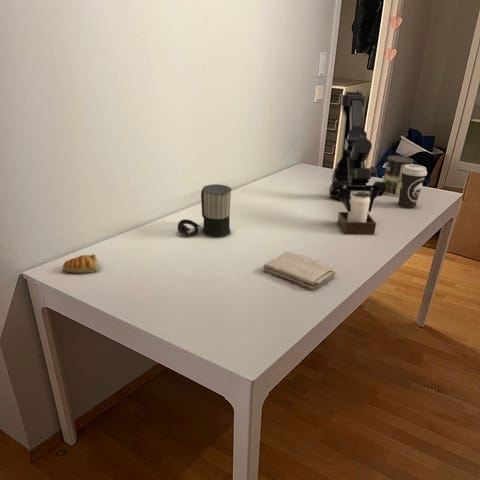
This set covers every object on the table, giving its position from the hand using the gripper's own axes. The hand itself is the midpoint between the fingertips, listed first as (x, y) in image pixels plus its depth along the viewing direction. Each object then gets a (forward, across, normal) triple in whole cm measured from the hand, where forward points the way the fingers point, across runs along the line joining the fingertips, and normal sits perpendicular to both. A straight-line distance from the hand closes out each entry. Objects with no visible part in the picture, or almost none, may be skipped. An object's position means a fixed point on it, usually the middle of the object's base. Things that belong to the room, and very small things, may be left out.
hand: (359, 211), depth 160 cm
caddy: (+4, 0, +6) cm, 7 cm away
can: (+4, 0, +6) cm, 7 cm away
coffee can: (-26, +27, +36) cm, 52 cm away
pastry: (+28, -85, -18) cm, 91 cm away
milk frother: (+8, -52, +2) cm, 53 cm away
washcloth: (+29, -25, -19) cm, 43 cm away
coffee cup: (-14, +27, +24) cm, 39 cm away
